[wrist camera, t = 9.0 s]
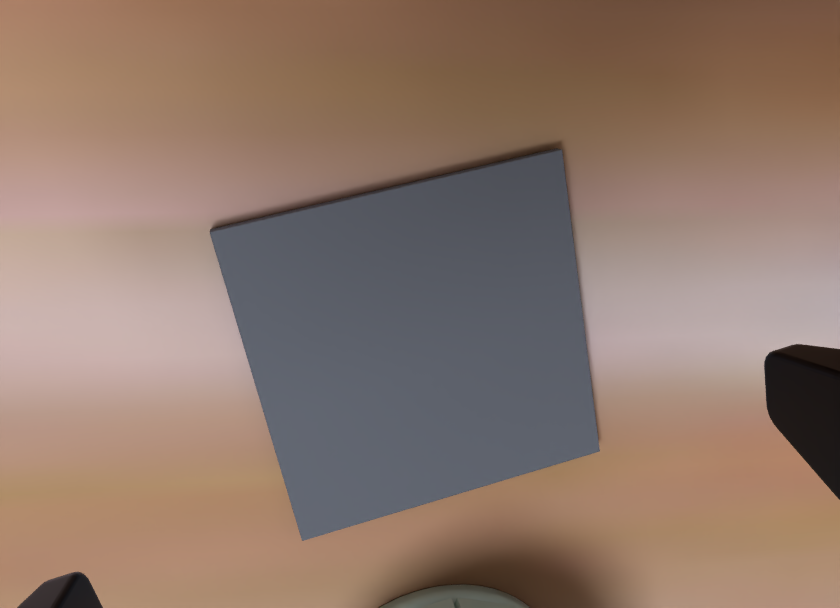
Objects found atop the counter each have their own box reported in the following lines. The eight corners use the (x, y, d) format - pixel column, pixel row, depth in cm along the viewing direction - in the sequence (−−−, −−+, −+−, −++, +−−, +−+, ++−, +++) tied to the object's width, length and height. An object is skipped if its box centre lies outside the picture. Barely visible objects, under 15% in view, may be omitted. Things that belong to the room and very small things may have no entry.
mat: (556, 148, 21) (561, 149, 21) (594, 445, 24) (599, 451, 24) (210, 229, 19) (209, 232, 19) (301, 533, 23) (302, 540, 22)
